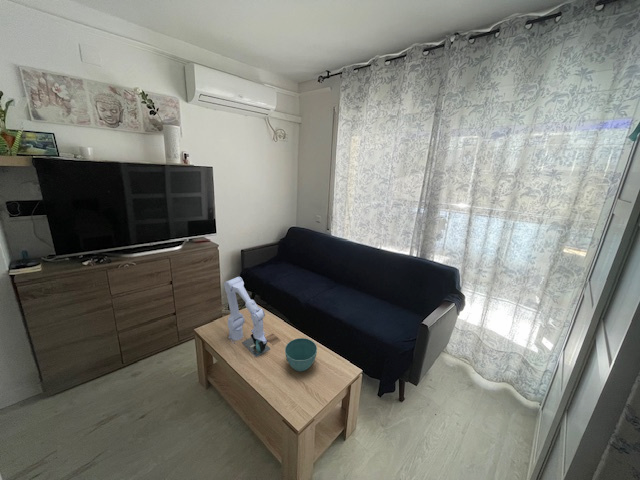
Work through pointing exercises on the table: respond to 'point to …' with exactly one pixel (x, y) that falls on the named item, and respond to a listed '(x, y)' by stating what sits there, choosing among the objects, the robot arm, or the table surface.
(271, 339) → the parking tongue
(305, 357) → the teal bowl
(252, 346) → the plate
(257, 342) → the peg
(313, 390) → the table surface
